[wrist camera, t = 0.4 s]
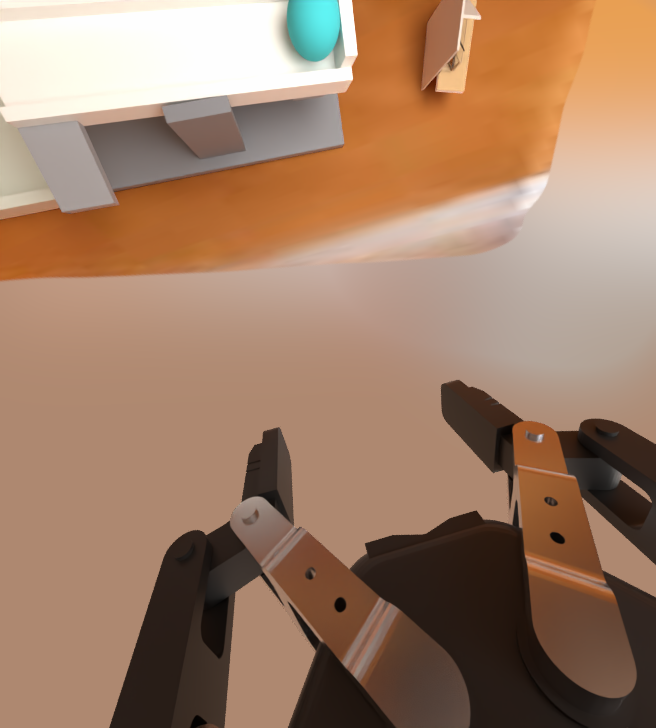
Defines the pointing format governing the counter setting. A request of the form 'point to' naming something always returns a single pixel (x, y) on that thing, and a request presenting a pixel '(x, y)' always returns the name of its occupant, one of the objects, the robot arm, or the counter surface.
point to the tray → (20, 176)
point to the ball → (313, 27)
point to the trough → (144, 72)
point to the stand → (213, 138)
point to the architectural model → (449, 45)
